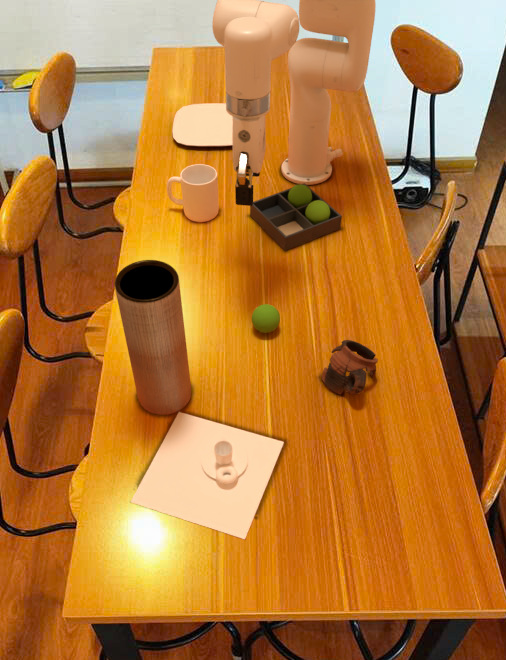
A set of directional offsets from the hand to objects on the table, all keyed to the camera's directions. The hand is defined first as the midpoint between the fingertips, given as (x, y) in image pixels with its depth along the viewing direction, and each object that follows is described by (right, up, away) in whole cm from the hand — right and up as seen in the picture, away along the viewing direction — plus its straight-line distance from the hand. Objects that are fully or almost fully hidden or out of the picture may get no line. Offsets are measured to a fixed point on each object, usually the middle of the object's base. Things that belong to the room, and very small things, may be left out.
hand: (247, 189), depth 129 cm
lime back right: (+16, +3, +27) cm, 31 cm away
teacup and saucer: (-7, -52, -13) cm, 54 cm away
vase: (-15, -39, -2) cm, 42 cm away
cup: (-12, +5, +34) cm, 36 cm away
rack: (+11, +2, +30) cm, 32 cm away
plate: (-9, +34, +57) cm, 67 cm away
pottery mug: (+19, -36, 0) cm, 41 cm away
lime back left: (+12, +8, +31) cm, 34 cm away
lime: (+4, -23, +6) cm, 25 cm away
